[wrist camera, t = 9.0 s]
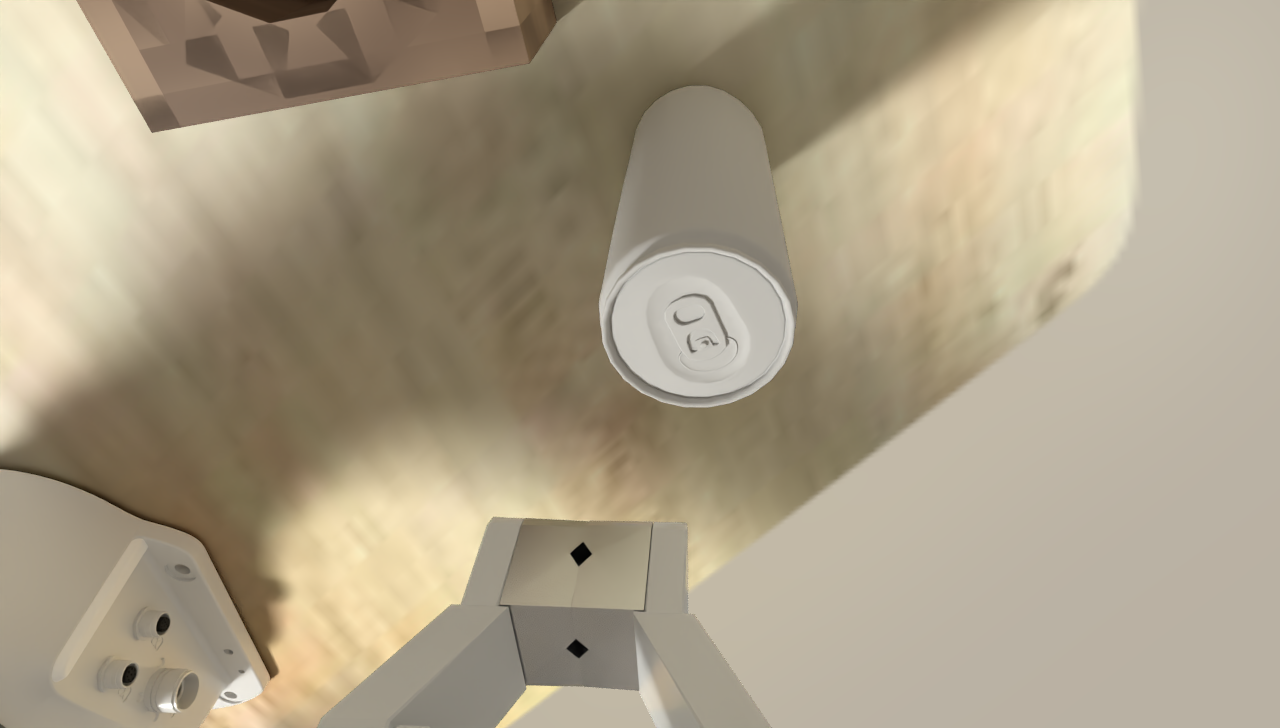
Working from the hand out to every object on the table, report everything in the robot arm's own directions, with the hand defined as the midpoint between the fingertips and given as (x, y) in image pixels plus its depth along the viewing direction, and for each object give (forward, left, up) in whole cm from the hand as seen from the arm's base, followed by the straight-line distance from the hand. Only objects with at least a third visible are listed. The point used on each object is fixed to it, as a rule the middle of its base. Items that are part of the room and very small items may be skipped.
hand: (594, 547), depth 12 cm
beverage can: (-1, -1, -19) cm, 19 cm away
